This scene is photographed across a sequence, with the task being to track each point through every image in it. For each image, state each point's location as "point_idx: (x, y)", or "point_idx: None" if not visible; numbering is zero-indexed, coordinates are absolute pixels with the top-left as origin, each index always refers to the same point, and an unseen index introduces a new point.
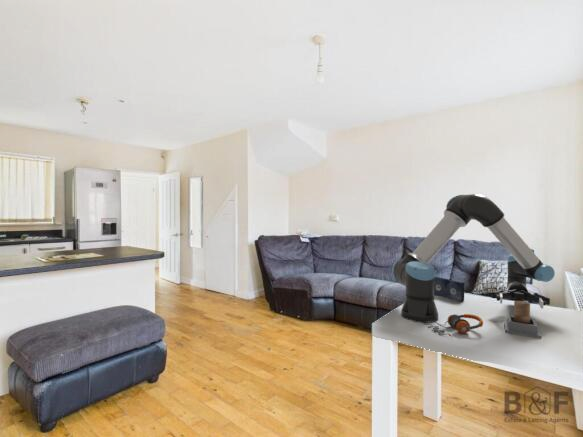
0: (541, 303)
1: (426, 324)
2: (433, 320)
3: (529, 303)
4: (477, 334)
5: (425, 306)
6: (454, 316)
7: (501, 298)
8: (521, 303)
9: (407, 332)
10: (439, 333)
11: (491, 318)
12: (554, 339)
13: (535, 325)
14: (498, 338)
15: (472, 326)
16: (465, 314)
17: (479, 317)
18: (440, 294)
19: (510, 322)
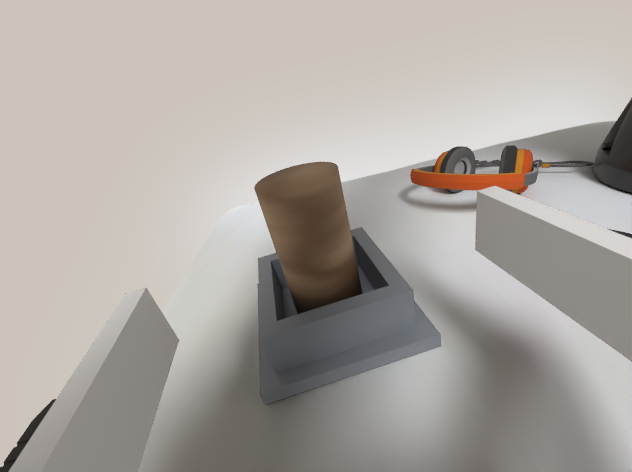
0: (152, 302)
1: (565, 161)
2: (597, 173)
3: (257, 187)
4: (423, 204)
5: (626, 106)
6: (503, 149)
7: (484, 203)
8: (297, 168)
9: (521, 139)
10: (477, 160)
11: (589, 400)
12: (216, 315)
13: (265, 259)
14: (369, 218)
15: (424, 167)
16: (515, 173)
17: (442, 174)
18: None
19: (354, 231)
